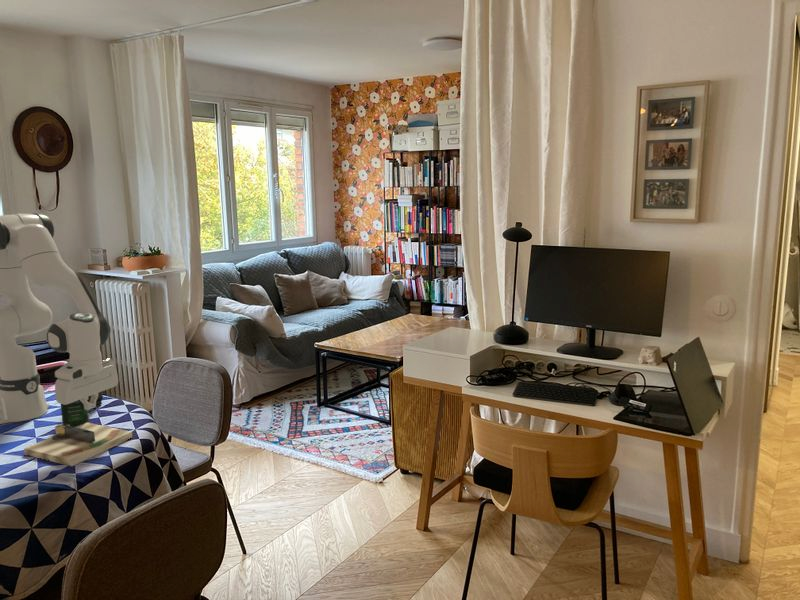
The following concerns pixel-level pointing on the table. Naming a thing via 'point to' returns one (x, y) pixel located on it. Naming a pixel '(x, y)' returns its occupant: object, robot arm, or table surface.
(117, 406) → the table surface
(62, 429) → the tuning needle
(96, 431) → the dial board
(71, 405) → the coffee jar
